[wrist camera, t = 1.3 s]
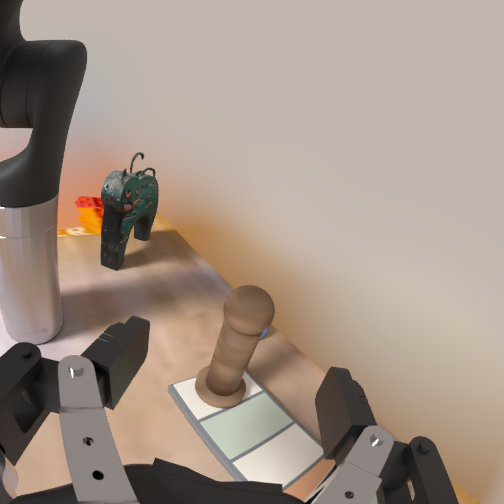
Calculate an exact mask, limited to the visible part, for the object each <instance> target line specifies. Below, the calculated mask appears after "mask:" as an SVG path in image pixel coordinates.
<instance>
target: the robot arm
mask: <svg viewBox="0 0 504 504" xmlns="http://www.w3.org/2000/svg"><path fill="white" fill-rule="evenodd" d="M22 2H23V0H0V127H1V128H33V131H32V134H31V138H30V141H29V144H28V146H27V147H26V149H24V150H23V151H22V152H21V153H19V154H18V155H16V156H14V157H12V158H9V159H7V160H4V161H2V162H0V309H1V313H2V316H3V320H4V323H5V326H6V330H7V331H8V333H9V335H10V336H11V337H12V338H13V339H15V340H16V341H18V342H21V343H17V344H15V345H14V346H12V347H11V348H10V349H9V350H8V351H7V352H6V353H5V354H3V355H2V356H1V357H0V504H370V502H371V500H372V499H373V497H374V495H375V493H376V496H377V502H378V504H459V503H458V500H457V498H456V495H455V492H454V489H453V487H452V484H451V482H450V479H449V477H448V474H447V471H446V469H445V467H444V464H443V462H442V459H441V457H440V455H439V453H438V450H437V448H436V446H435V444H434V443H433V442H432V441H431V440H430V439H428V438H426V437H422V436H418V437H415V438H413V440H412V441H411V442H410V443H409V444H406V443H402V442H397V441H394V440H393V437H392V435H391V434H390V432H388V431H387V430H386V429H384V428H382V427H380V426H377V423H376V421H375V418H374V416H373V413H372V411H371V408H370V405H368V401H367V398H366V395H365V393H364V390H363V388H362V387H361V386H360V385H359V384H358V383H357V382H356V381H354V380H352V377H351V375H350V372H349V370H348V369H345V368H338V367H331V368H330V369H329V371H328V372H327V374H326V376H325V378H324V380H323V382H322V384H321V386H320V388H319V390H318V392H317V394H316V398H315V406H316V411H317V417H318V422H319V428H320V434H321V440H322V446H323V452H324V458H325V460H335V465H334V466H333V467H332V468H331V469H330V471H329V472H328V473H327V475H326V476H325V477H324V478H323V480H322V481H321V482H320V483H319V485H318V486H317V487H316V488H315V489H314V491H313V492H312V493H311V494H310V495H309V496H308V497H307V498H306V499H305V500H304V501H302V500H300V499H299V498H297V497H295V496H293V495H290V494H288V493H285V492H283V488H282V484H276V483H266V482H258V481H237V482H219V481H215V480H213V479H210V478H208V477H206V476H204V475H202V474H199V473H197V472H195V471H193V470H191V469H189V468H187V467H184V466H180V465H177V464H173V463H170V462H167V461H164V460H161V459H158V458H155V460H154V463H153V465H151V464H129V465H122V462H121V460H120V457H119V454H118V451H117V448H116V445H115V442H114V439H113V436H112V433H111V430H110V427H109V423H108V420H107V416H106V413H105V409H104V407H107V408H109V409H112V410H114V408H115V406H116V405H117V403H118V402H119V400H120V398H121V397H122V395H123V394H124V392H125V391H126V389H127V387H128V386H129V384H130V383H131V381H132V380H133V378H134V377H135V375H136V373H137V372H138V370H139V369H140V367H141V366H142V364H143V363H144V361H145V359H146V356H147V352H148V342H149V329H150V322H149V321H148V320H145V319H142V318H139V317H136V316H132V317H131V318H130V319H129V320H128V321H127V322H126V323H125V324H123V323H121V322H119V323H116V324H114V325H111V326H109V327H108V328H107V329H106V330H105V331H104V333H102V334H101V335H100V336H99V338H97V339H96V340H95V341H94V342H93V343H92V344H91V345H90V346H89V347H88V348H87V349H86V350H85V351H84V352H83V353H82V354H81V355H80V356H78V355H71V356H67V357H65V358H63V359H62V360H61V361H60V362H59V361H54V360H50V359H47V358H43V357H42V356H41V352H40V349H39V348H38V347H37V346H36V345H35V344H41V343H44V342H47V341H49V340H50V339H52V338H54V337H55V336H56V335H57V334H58V333H59V331H60V329H61V328H62V325H63V314H62V306H61V298H60V286H59V273H58V252H57V215H58V196H59V183H60V174H61V168H62V163H63V156H64V151H65V145H66V139H67V135H68V130H69V126H70V122H71V118H72V115H73V111H74V108H75V104H76V101H77V98H78V95H79V91H80V88H81V85H82V82H83V78H84V73H85V70H86V64H87V50H86V47H85V45H84V44H83V43H81V42H79V41H75V40H39V41H26V40H25V39H24V38H23V37H22V35H21V31H20V24H19V15H20V8H21V4H22ZM50 412H54V413H58V414H59V417H60V425H61V432H62V438H63V444H64V449H65V454H66V459H67V463H68V468H69V472H70V476H71V479H72V483H70V484H67V485H63V486H60V487H56V488H52V489H48V490H44V491H40V492H35V493H31V494H26V495H21V496H18V497H17V495H16V488H17V483H18V474H17V471H16V469H15V467H14V466H15V465H16V463H17V461H18V460H19V458H20V457H21V455H22V454H23V452H24V450H25V449H26V447H27V446H28V444H29V443H30V441H31V440H32V438H33V437H34V435H35V434H36V432H37V431H38V429H39V428H40V426H41V425H42V423H43V422H44V421H45V419H46V418H47V416H48V415H49V413H50ZM410 480H411V481H412V484H413V488H414V491H415V497H414V500H413V501H412V499H411V495H410V491H409V488H408V484H407V483H408V482H409V481H410Z"/></svg>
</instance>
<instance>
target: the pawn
mask: <svg viewBox="0 0 504 504" xmlns="http://www.w3.org/2000/svg"><path fill="white" fill-rule="evenodd" d="M274 310H275V309H274V303H273V301H272V299H271V297H270V295H269V294H268V293H267V292H266V291H265V290H263V289H262V288H259V287H257V286H253V285H245V286H242V287H239V288H237V289H235V290H233V291H232V292H231V293H230V294H229V296H228V297H227V299H226V301H225V304H224V317H225V319H224V322H223V325H222V329H221V332H220V335H219V338H218V341H217V345H216V348H215V351H214V354H213V357H212V360H211V364H210V366H207V367H205V368H203V369H202V370H201V371H200V372H199V373H198V375H197V378H196V382H195V390H196V392H197V394H198V396H199V397H200V399H201V400H203V401H204V402H205V403H207V404H208V405H210V406H213V407H216V408H222V409H226V408H231V407H234V406H236V405H238V404H239V403H240V402H241V400H242V399H243V397H244V395H245V392H246V384H245V381H244V379H243V378H242V377H243V375H244V373H245V371H246V368H247V366H248V364H249V362H250V359H251V357H252V355H253V353H254V350H255V348H256V346H257V344H258V341H259V339H260V337H261V334H262V332H263V331H264V330H266V329H267V328H268V327H269V325H270V324H271V322H272V320H273V317H274V312H275V311H274Z"/></svg>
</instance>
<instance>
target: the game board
mask: <svg viewBox="0 0 504 504" xmlns="http://www.w3.org/2000/svg"><path fill="white" fill-rule="evenodd" d="M196 378H197V376H196V377H193V378H190V379H187V380H184V381H181V382H178V383H175V384H171V385H169V388H168V392H169V393H170V395H171V397H172V398H173V400H174V401H175V403H176V404H177V406H178V407H179V409H180V410H181V412H182V413H183V414H184V416H185V417H186V419H187V420H188V422H189V423H190V424H191V426H192V427H193V428H194V430H195V431H196V433H197V434H198V435H199V437H200V438H201V439H202V441H203V442H204V443H205V444H206V446H207V447H208V448H209V450H210V451H211V452H212V453H213V454H214V456H215V457H216V458H217V459H218V461H219V462H220V463H221V464H222V465H223V467H224V468H225V469H226V470H227V471H228V472H229V474H230V475H231V476H232V477H233V478H234V479H235V480H236V481H258V482H266V483H276V484H282V488H283V492H285V493H288V494H290V495H293V496H295V497H297V498H299V499H300V500H302V501H304V500H305V499H306V498H307V497H308V496H309V495H310V494H311V493H312V492H313V491H314V489H315V488H316V487H317V486H318V485H319V483H320V482H321V481H322V480H323V478H324V477H325V476H326V475H327V473H328V472H329V471H330V469H331V468H332V467H333V466H334V465H335V460H325V458H324V452H323V446H322V444H321V443H320V442H318V441H317V440H316V439H315V438H314V437H313V436H312V435H311V434H310V433H309V432H308V431H306V430H305V429H304V428H303V427H302V426H301V425H300V424H299V423H298V422H297V421H296V420H295V419H294V418H293V417H292V416H291V415H290V414H289V413H288V412H287V411H286V410H285V409H284V408H283V407H282V406H281V405H280V404H279V403H278V402H277V401H276V400H275V399H274V398H273V397H272V396H271V395H270V394H269V393H268V392H267V391H266V390H265V389H264V388H263V387H262V386H261V385H260V384H259V383H258V382H257V381H256V380H255V379H254V378H253V377H252V375H251V374H250V373H249V372H248V371H247V370H246V371H245V373H244V375H243V377H242V378H243V379H244V381H245V384H246V392H245V395H244V397H243V399H242V400H241V402H240V403H239V404H238V405H236V406H234V407H231V408H226V409H222V408H216V407H213V406H210V405H208V404H207V403H205V402H204V401H203V400H201V399H200V397H199V396H198V394H197V392H196V390H195V382H196ZM370 504H378V502H377V496H376V493H375V495H374V497H373V499H372V500H371V502H370Z"/></svg>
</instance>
